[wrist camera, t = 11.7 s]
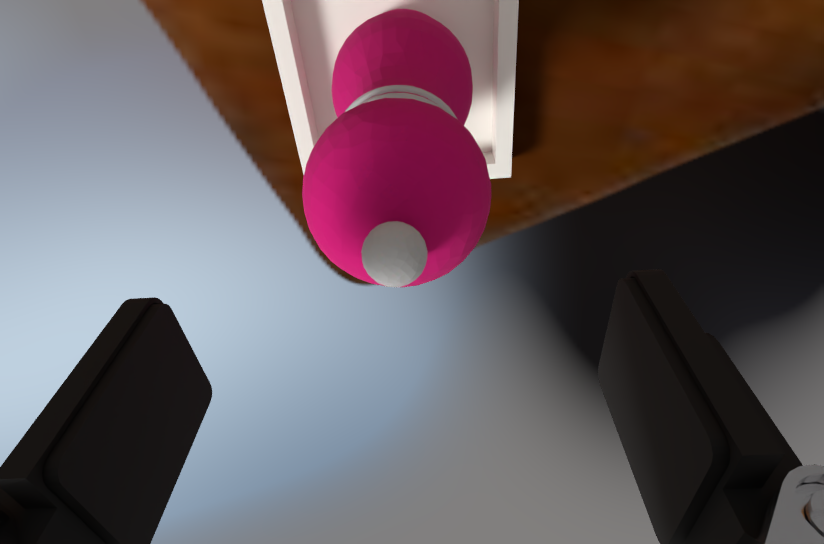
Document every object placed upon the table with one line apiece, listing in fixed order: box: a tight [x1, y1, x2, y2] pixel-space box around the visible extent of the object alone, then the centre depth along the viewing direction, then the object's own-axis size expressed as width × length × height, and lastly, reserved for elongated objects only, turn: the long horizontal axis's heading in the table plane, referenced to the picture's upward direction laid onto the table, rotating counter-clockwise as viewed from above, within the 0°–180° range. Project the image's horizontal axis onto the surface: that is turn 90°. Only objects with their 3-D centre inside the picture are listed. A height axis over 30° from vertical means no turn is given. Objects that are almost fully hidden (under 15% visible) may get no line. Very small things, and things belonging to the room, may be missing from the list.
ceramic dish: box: [262, 0, 519, 179], centre depth 28 cm, size 13×13×2 cm
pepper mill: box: [302, 9, 491, 287], centre depth 20 cm, size 7×7×20 cm
